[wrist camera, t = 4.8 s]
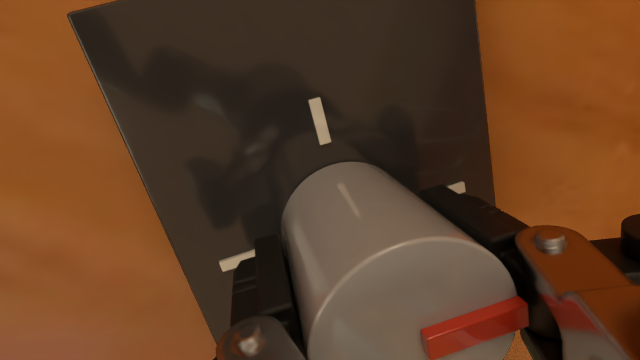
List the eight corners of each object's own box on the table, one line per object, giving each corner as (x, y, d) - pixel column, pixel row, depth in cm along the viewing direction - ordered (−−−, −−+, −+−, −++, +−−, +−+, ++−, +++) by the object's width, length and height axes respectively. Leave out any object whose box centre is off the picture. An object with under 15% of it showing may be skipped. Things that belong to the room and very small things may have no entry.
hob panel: (101, 23, 11) (60, 11, 9) (426, -60, 13) (471, -90, 10) (244, 357, 16) (244, 411, 14) (471, 276, 17) (509, 312, 15)
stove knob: (299, 298, 13) (339, 470, 7) (264, 183, 11) (281, 292, 6) (416, 260, 13) (535, 396, 8) (397, 144, 12) (526, 213, 6)
